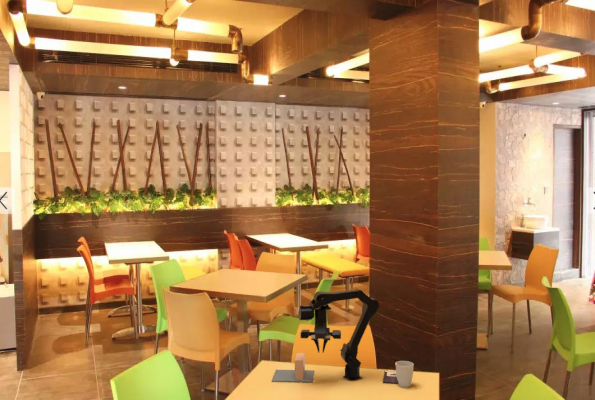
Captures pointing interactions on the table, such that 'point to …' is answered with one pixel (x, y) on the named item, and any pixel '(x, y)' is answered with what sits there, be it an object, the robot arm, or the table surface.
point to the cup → (404, 373)
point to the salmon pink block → (299, 366)
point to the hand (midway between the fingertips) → (321, 352)
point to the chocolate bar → (390, 377)
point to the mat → (292, 376)
